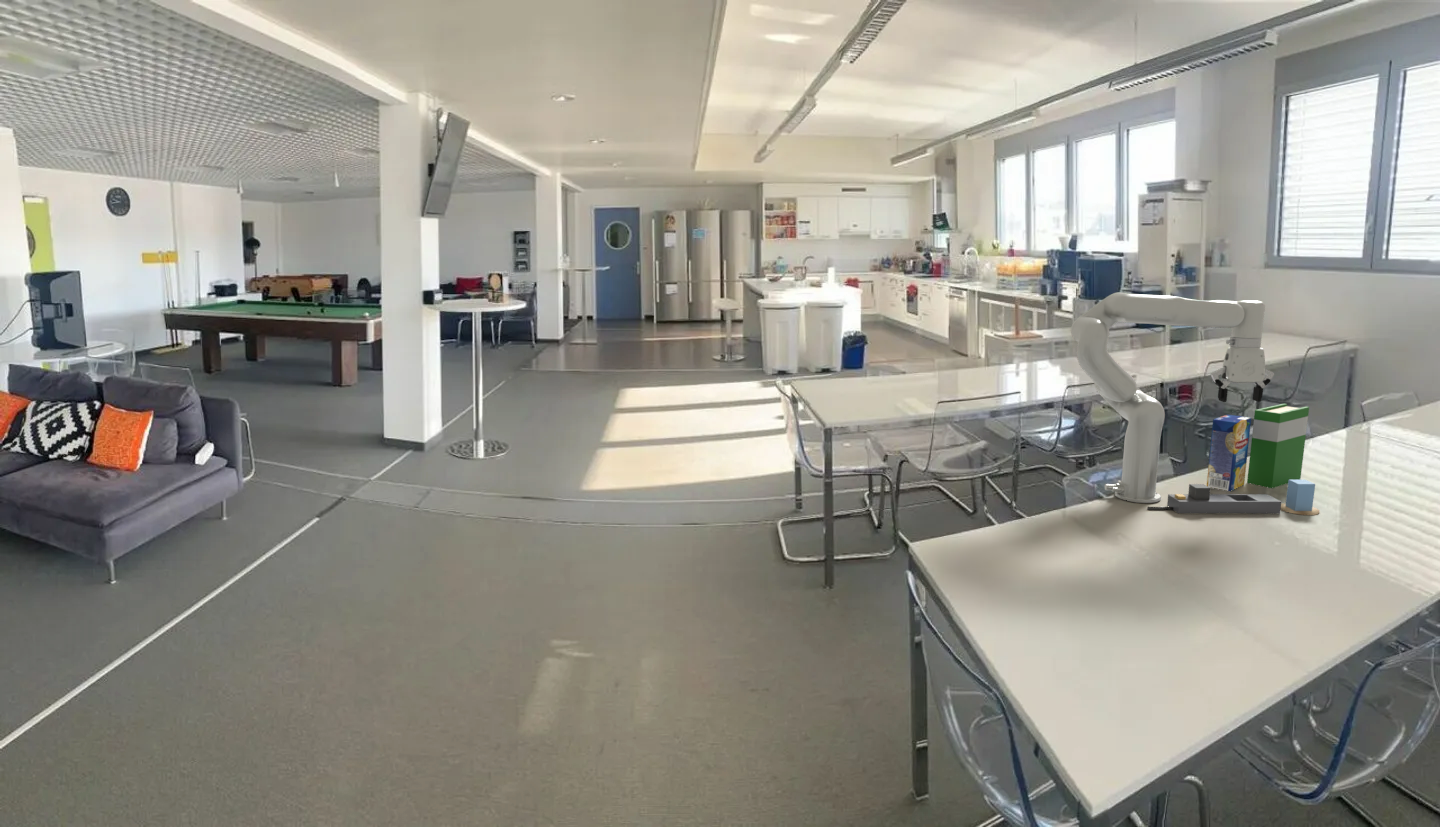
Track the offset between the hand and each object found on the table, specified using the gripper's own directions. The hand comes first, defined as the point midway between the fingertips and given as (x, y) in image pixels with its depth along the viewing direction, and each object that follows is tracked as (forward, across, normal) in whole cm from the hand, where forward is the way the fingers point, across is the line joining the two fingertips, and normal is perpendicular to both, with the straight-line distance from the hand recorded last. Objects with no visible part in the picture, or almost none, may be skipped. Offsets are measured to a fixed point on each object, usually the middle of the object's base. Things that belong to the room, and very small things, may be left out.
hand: (1239, 401), depth 242 cm
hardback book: (+31, +24, +19) cm, 43 cm away
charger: (+30, +14, -10) cm, 35 cm away
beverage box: (+31, +6, +14) cm, 34 cm away
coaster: (+30, +14, -10) cm, 35 cm away
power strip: (+30, -10, -10) cm, 34 cm away
